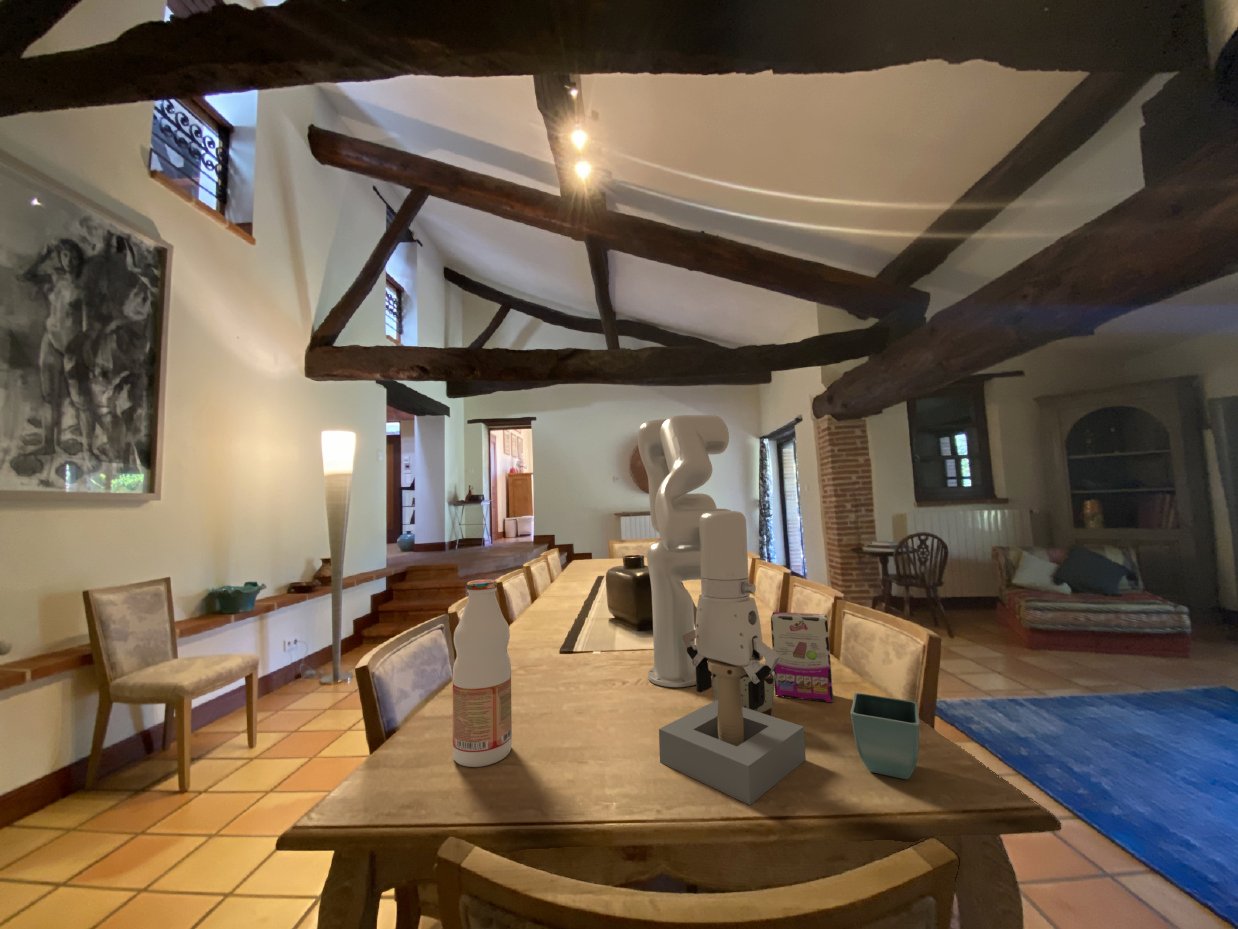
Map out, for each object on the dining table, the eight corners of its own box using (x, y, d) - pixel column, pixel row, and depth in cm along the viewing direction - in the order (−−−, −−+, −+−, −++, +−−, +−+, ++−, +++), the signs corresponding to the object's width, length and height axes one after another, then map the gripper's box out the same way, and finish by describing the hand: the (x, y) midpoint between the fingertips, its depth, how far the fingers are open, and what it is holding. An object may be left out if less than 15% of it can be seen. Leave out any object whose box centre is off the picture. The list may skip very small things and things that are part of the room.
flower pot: (925, 792, 68) (919, 724, 68) (854, 776, 72) (850, 712, 73) (922, 762, 75) (917, 701, 76) (858, 749, 80) (854, 692, 80)
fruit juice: (461, 775, 75) (461, 588, 77) (446, 750, 83) (446, 581, 85) (520, 756, 80) (518, 581, 82) (500, 735, 88) (499, 575, 90)
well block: (719, 728, 88) (718, 699, 89) (805, 760, 77) (803, 726, 77) (659, 762, 77) (658, 729, 78) (749, 805, 66) (748, 766, 66)
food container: (784, 719, 91) (781, 663, 92) (780, 733, 85) (777, 674, 86) (718, 709, 96) (716, 656, 97) (710, 722, 91) (708, 666, 91)
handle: (754, 770, 74) (750, 667, 75) (711, 767, 75) (708, 666, 76) (751, 754, 79) (747, 657, 80) (710, 751, 80) (707, 656, 81)
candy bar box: (832, 694, 102) (828, 613, 103) (833, 703, 97) (828, 618, 99) (776, 688, 106) (772, 610, 107) (774, 696, 102) (770, 615, 103)
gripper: (786, 591, 75) (792, 706, 74) (696, 579, 88) (699, 678, 87) (761, 599, 70) (766, 723, 69) (668, 585, 83) (671, 690, 81)
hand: (729, 698), depth 78 cm, fingers open, 9 cm apart
